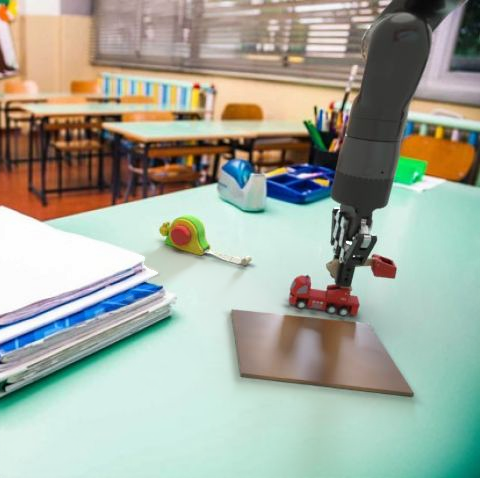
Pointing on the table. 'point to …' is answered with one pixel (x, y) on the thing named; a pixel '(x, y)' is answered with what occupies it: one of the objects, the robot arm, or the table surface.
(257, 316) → the metal plate
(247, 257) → the toy measuring tape
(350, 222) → the robot arm
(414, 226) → the table surface
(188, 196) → the table surface
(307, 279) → the toy fire truck
